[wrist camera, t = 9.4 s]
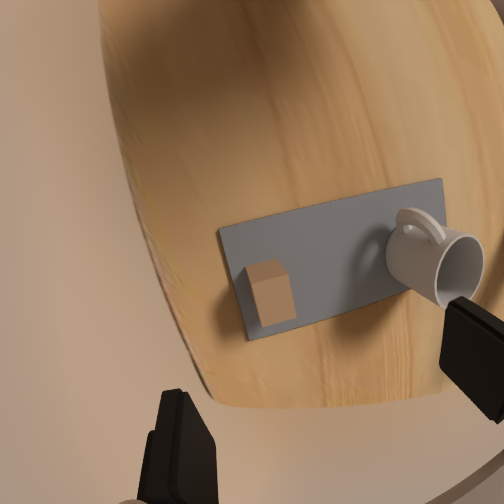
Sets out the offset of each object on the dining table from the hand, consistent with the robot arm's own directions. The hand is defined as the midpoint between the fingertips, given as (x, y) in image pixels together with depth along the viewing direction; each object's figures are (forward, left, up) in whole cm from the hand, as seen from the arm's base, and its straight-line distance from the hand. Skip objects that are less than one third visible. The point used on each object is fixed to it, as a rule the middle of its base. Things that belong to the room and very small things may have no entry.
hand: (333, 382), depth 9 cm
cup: (+3, +16, -20) cm, 26 cm away
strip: (+3, +10, -20) cm, 23 cm away
